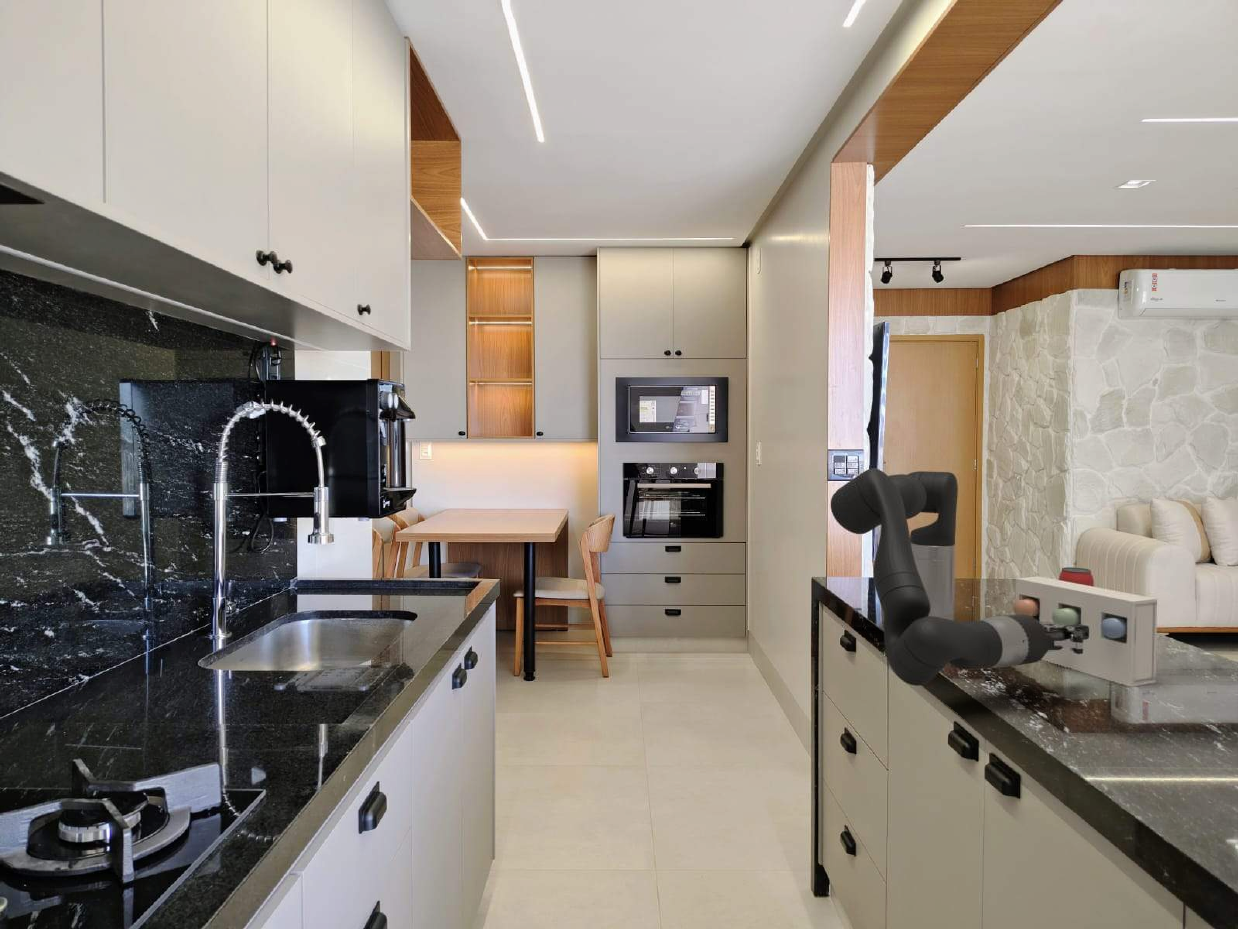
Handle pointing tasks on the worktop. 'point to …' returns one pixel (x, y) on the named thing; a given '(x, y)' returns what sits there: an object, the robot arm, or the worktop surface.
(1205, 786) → the worktop surface
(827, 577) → the worktop surface
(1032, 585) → the console
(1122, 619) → the blue button
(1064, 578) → the beer can
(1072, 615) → the sage button
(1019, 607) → the terracotta button
